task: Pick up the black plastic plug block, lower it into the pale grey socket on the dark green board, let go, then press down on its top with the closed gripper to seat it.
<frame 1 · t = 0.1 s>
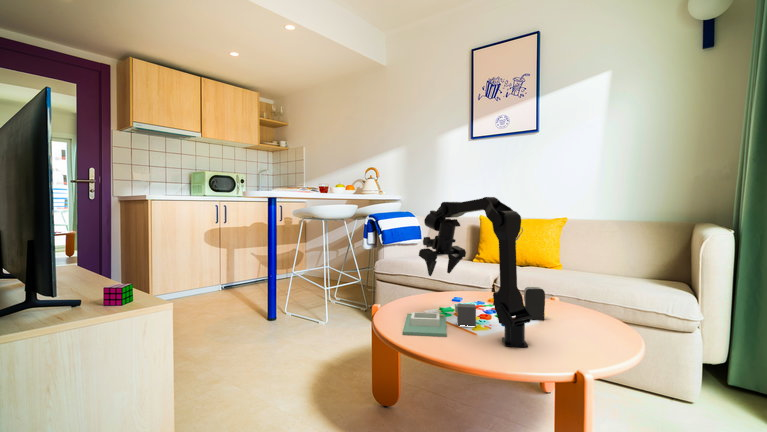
hand: (439, 274, 140), 15 cm above the table, tool pointing down, fingers open, 9 cm apart
board: (425, 325, 128), on the table
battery: (533, 319, 135), on the table
plug: (466, 325, 128), on the table
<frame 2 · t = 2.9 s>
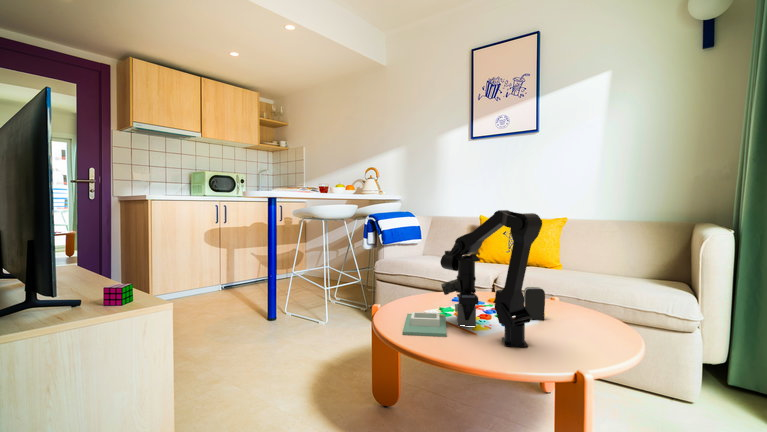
hand: (466, 318, 128), 3 cm above the table, tool pointing down, fingers closed on plug, 4 cm apart
plug: (466, 325, 128), on the table, touching gripper
everything else where it was.
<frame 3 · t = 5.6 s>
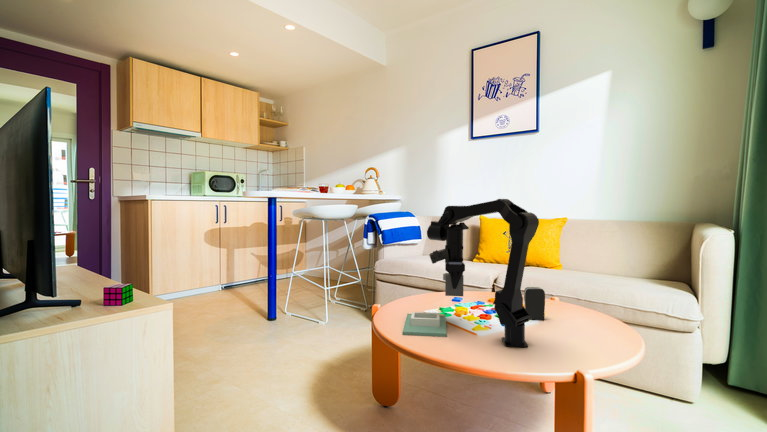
hand: (454, 287, 128), 13 cm above the table, tool pointing down, fingers closed on plug, 4 cm apart
plug: (454, 294, 128), point 11 cm above the table, touching gripper
everything else where it was.
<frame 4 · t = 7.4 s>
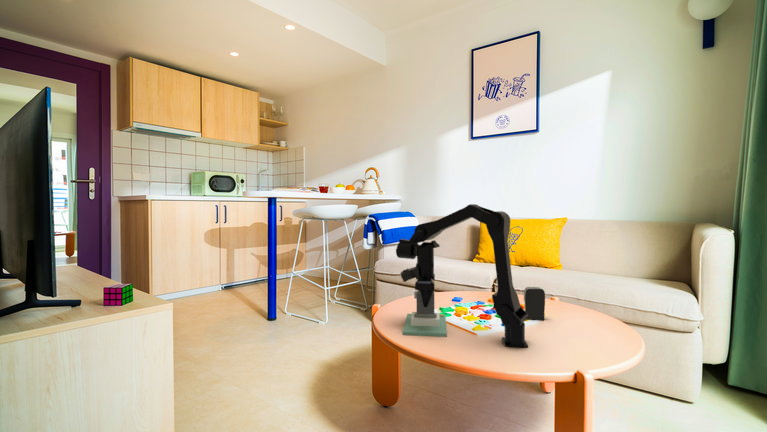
hand: (425, 305, 128), 7 cm above the table, tool pointing down, fingers closed on plug, 4 cm apart
plug: (425, 312, 128), point 5 cm above the table, touching gripper
everything else where it was.
when the fingers open (5 cm above the table, at t = 8.5 s): plug drops 1 cm, resting on board.
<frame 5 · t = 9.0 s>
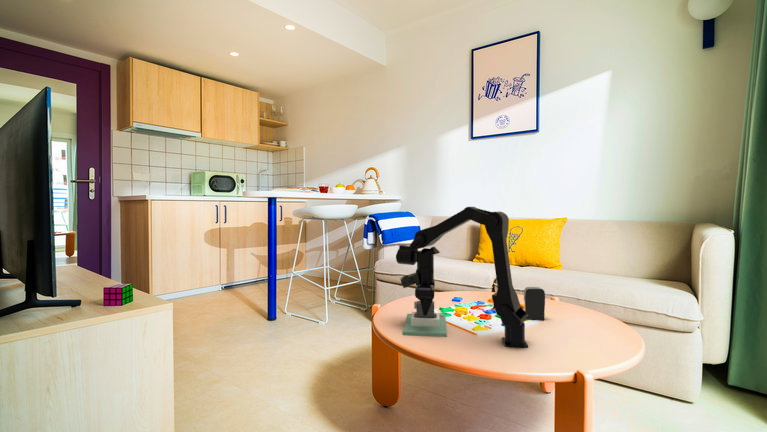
hand: (425, 311, 128), 5 cm above the table, tool pointing down, fingers open, 9 cm apart
plug: (425, 322, 128), point 1 cm above the table, touching board
everything else where it was.
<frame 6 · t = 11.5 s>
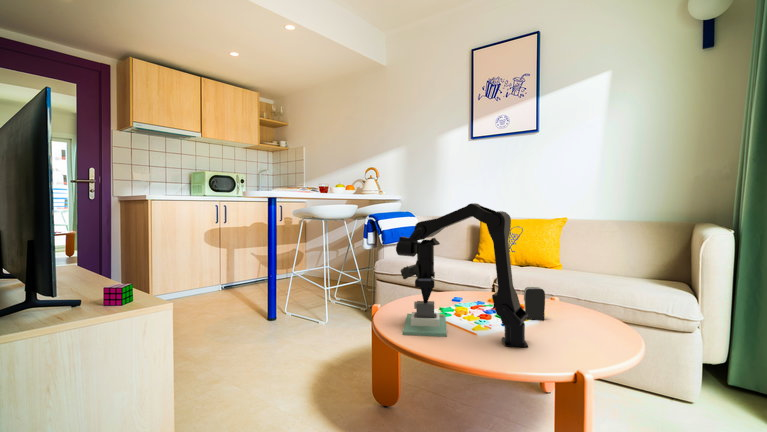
hand: (425, 302, 128), 8 cm above the table, tool pointing down, fingers closed, pressing on plug
plug: (425, 322, 128), point 1 cm above the table, touching board, gripper
everything else where it was.
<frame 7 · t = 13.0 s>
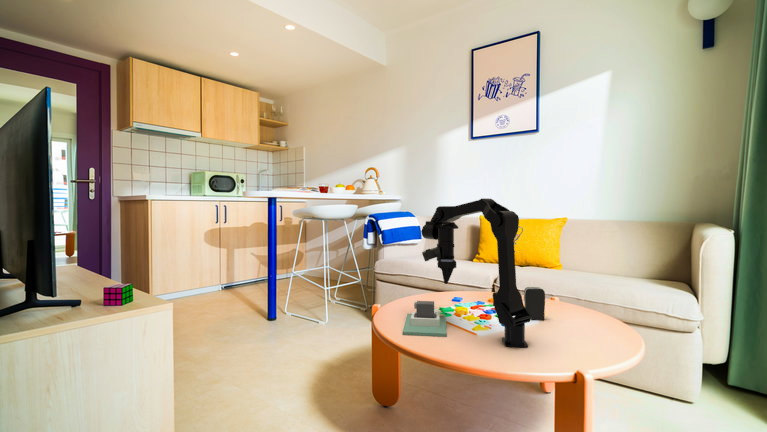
hand: (445, 283, 134), 13 cm above the table, tool pointing down, fingers closed
plug: (425, 322, 128), point 1 cm above the table, touching board
everything else where it was.
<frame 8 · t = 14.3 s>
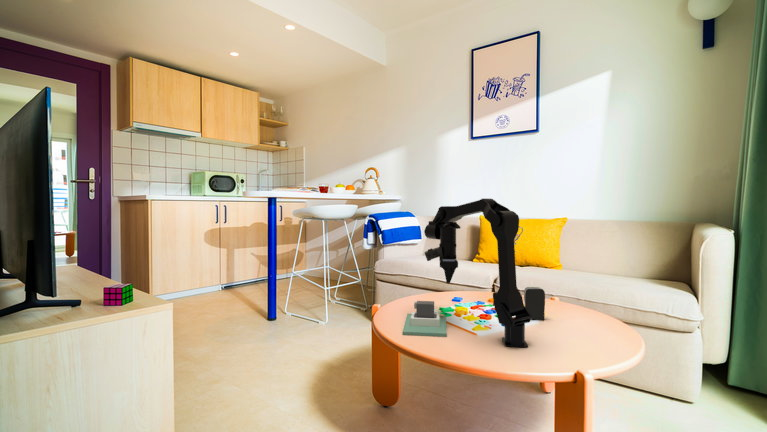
hand: (448, 283, 135), 13 cm above the table, tool pointing down, fingers closed
nothing on the table moved.
at the end: plug 0.0 cm off-centre on the board, point 1.0 cm above the board's base; plug tilted 0°; the gripper is holding nothing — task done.
